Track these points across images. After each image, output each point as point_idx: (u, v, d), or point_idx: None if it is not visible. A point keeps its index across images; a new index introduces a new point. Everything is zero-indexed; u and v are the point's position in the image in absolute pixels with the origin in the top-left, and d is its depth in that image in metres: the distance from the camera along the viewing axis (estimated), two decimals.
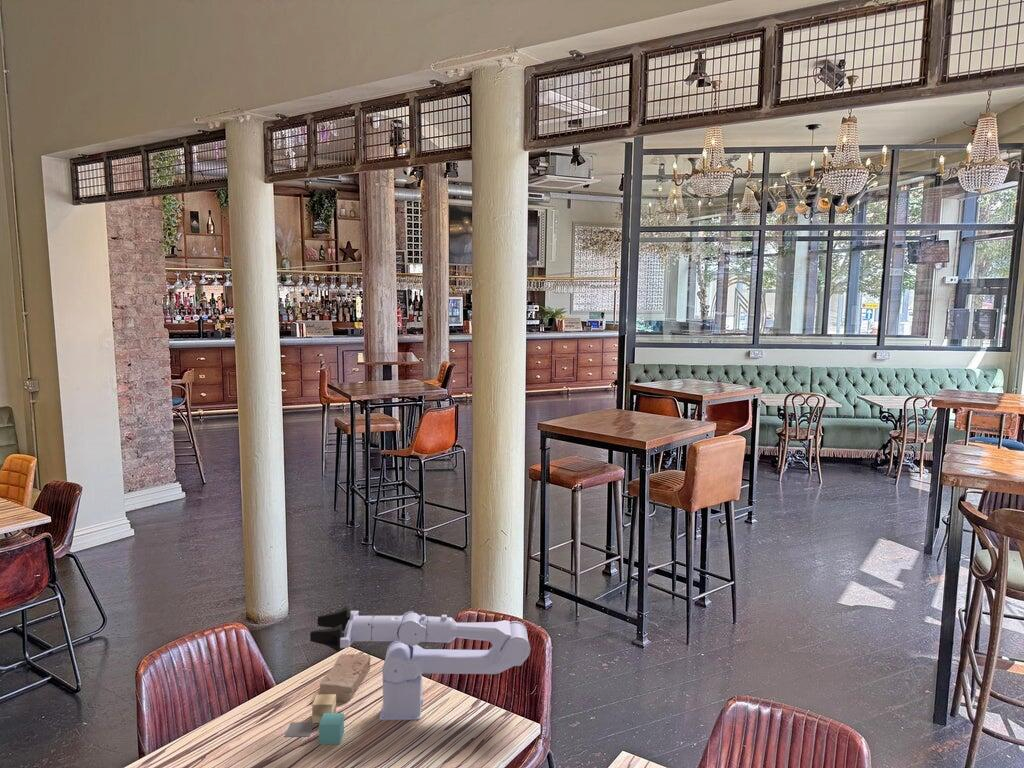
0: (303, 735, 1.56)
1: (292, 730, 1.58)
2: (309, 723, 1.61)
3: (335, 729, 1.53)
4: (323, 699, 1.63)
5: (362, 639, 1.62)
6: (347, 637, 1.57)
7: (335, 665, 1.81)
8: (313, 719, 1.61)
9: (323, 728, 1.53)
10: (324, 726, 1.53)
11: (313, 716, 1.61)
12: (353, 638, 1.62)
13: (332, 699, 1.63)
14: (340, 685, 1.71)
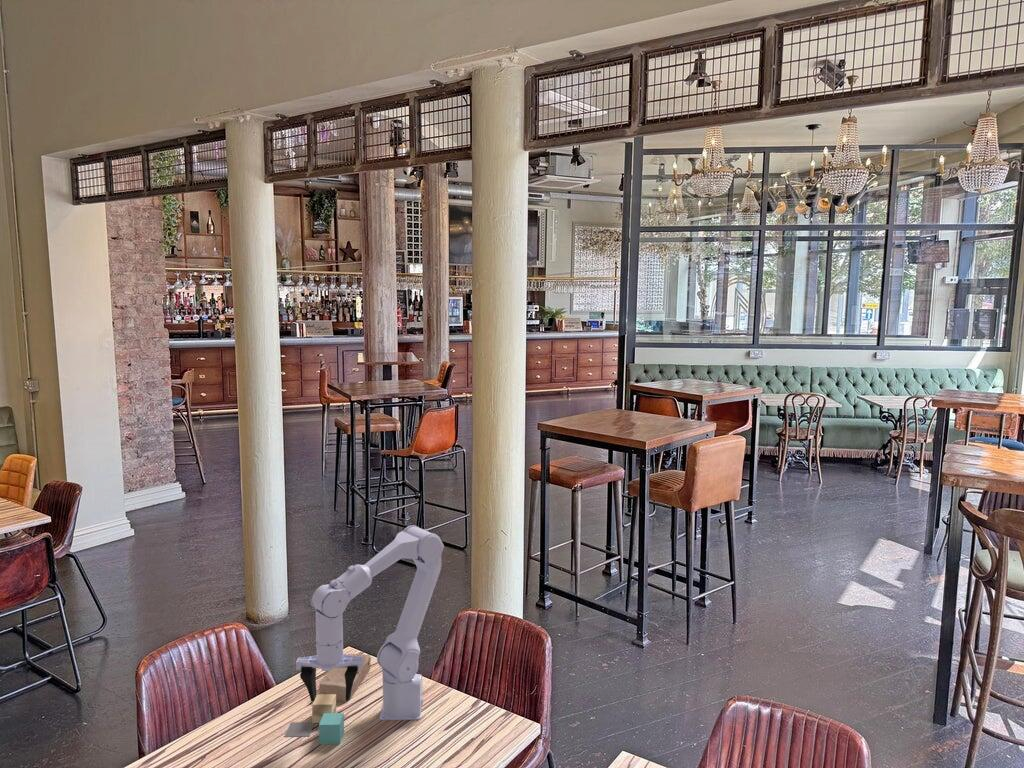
0: (303, 735, 1.56)
1: (292, 730, 1.58)
2: (309, 723, 1.61)
3: (335, 729, 1.53)
4: (323, 699, 1.63)
5: None
6: (358, 662, 1.53)
7: None
8: (313, 719, 1.61)
9: (323, 728, 1.53)
10: (324, 726, 1.53)
11: (313, 716, 1.61)
12: None
13: (332, 699, 1.63)
14: (339, 685, 1.71)
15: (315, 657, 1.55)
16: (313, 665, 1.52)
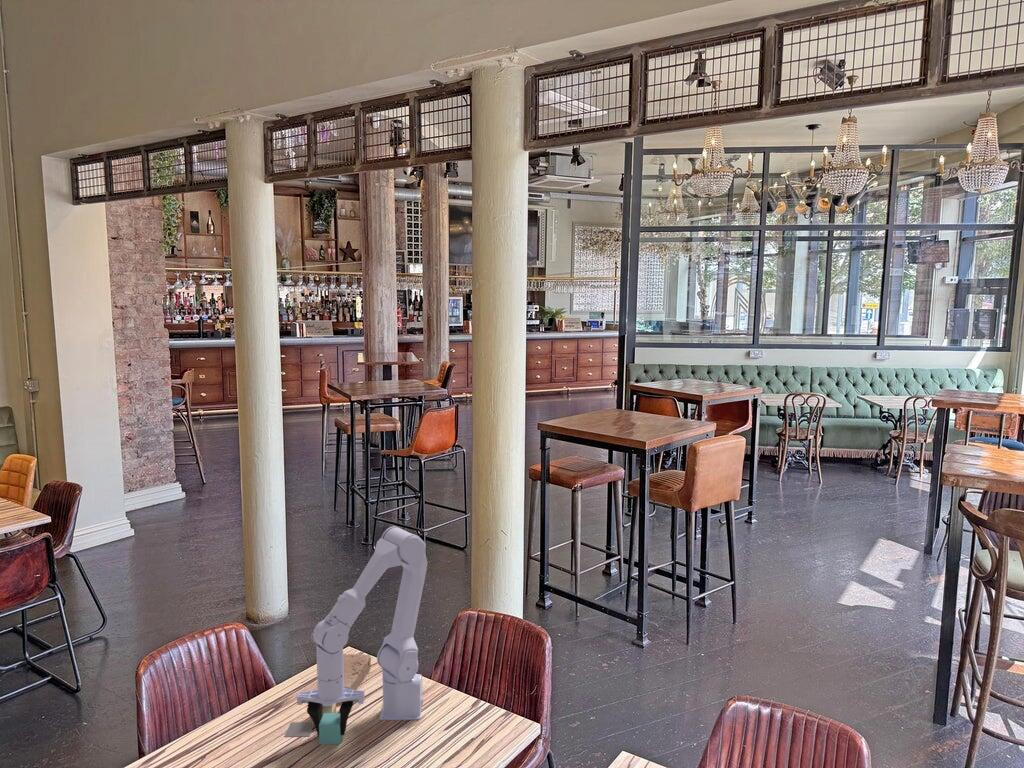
0: (303, 735, 1.56)
1: (292, 730, 1.58)
2: (309, 723, 1.61)
3: (335, 729, 1.53)
4: None
5: None
6: (359, 697, 1.54)
7: None
8: None
9: (323, 728, 1.53)
10: (324, 726, 1.53)
11: None
12: None
13: None
14: None
15: (316, 691, 1.56)
16: (314, 700, 1.52)
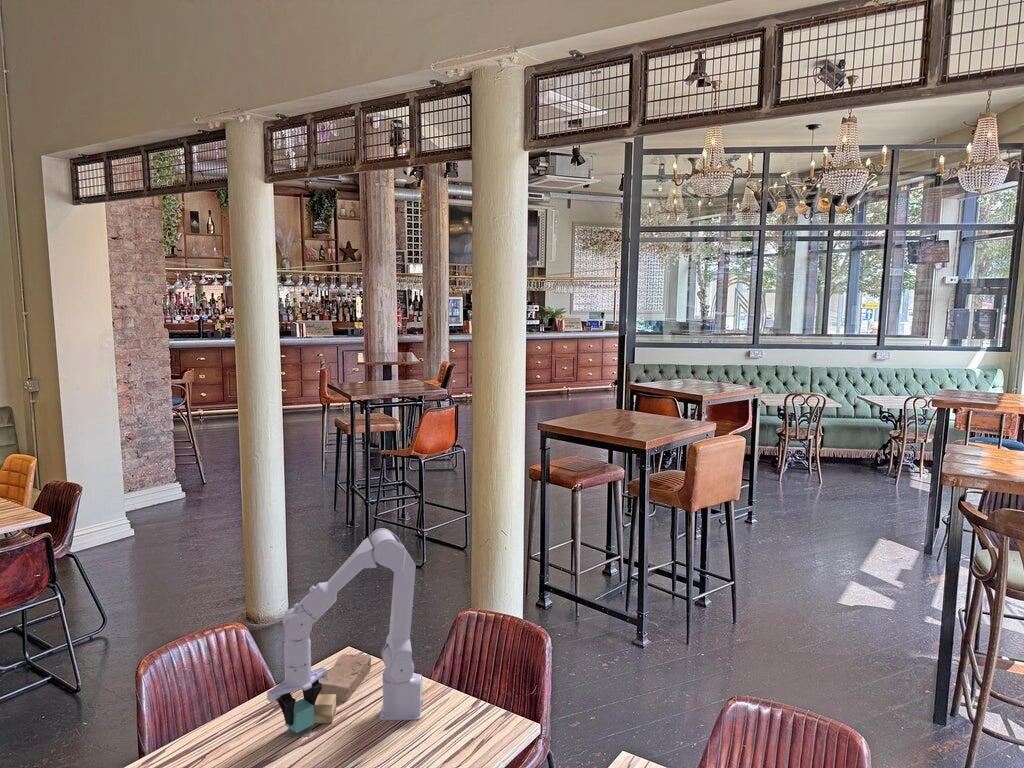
0: (303, 735, 1.56)
1: (292, 730, 1.58)
2: None
3: (310, 711, 1.58)
4: (323, 699, 1.63)
5: None
6: (325, 672, 1.62)
7: (334, 665, 1.81)
8: None
9: (300, 715, 1.56)
10: (300, 713, 1.56)
11: None
12: None
13: (332, 699, 1.63)
14: (337, 685, 1.71)
15: (280, 685, 1.56)
16: (291, 690, 1.54)
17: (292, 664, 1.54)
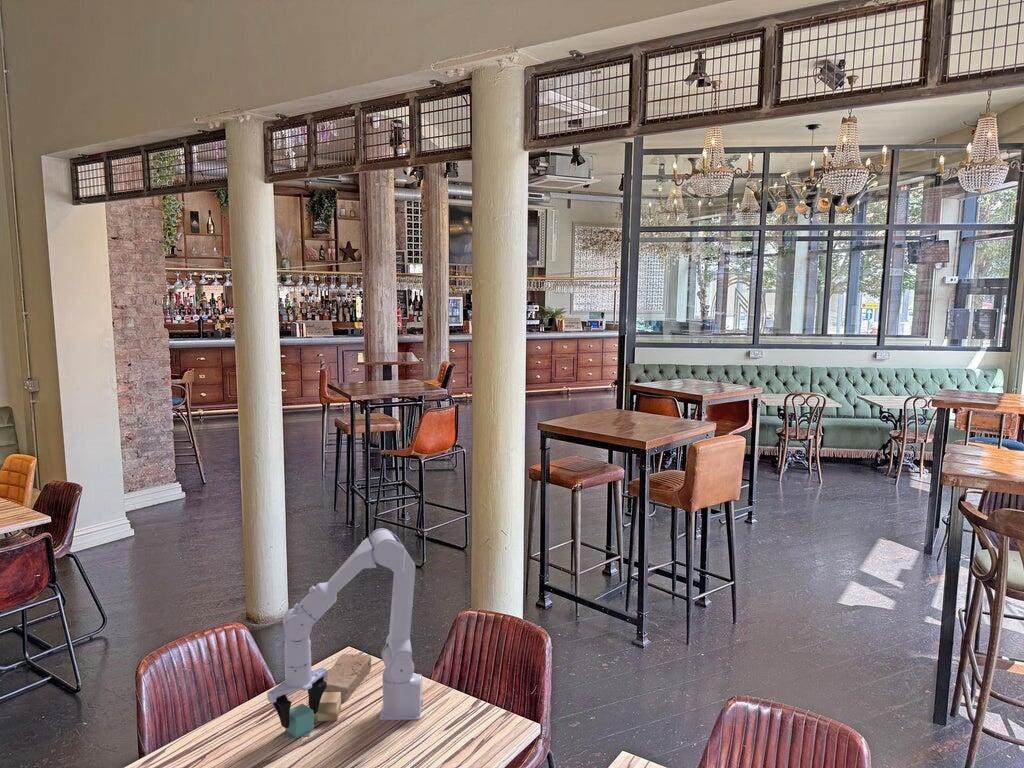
0: (303, 735, 1.56)
1: None
2: None
3: (310, 716, 1.58)
4: (328, 697, 1.64)
5: None
6: (325, 672, 1.62)
7: (334, 665, 1.81)
8: (318, 717, 1.62)
9: (300, 720, 1.56)
10: (300, 718, 1.56)
11: (318, 714, 1.62)
12: None
13: (337, 697, 1.64)
14: (336, 685, 1.71)
15: (280, 686, 1.56)
16: (291, 690, 1.54)
17: (292, 664, 1.54)
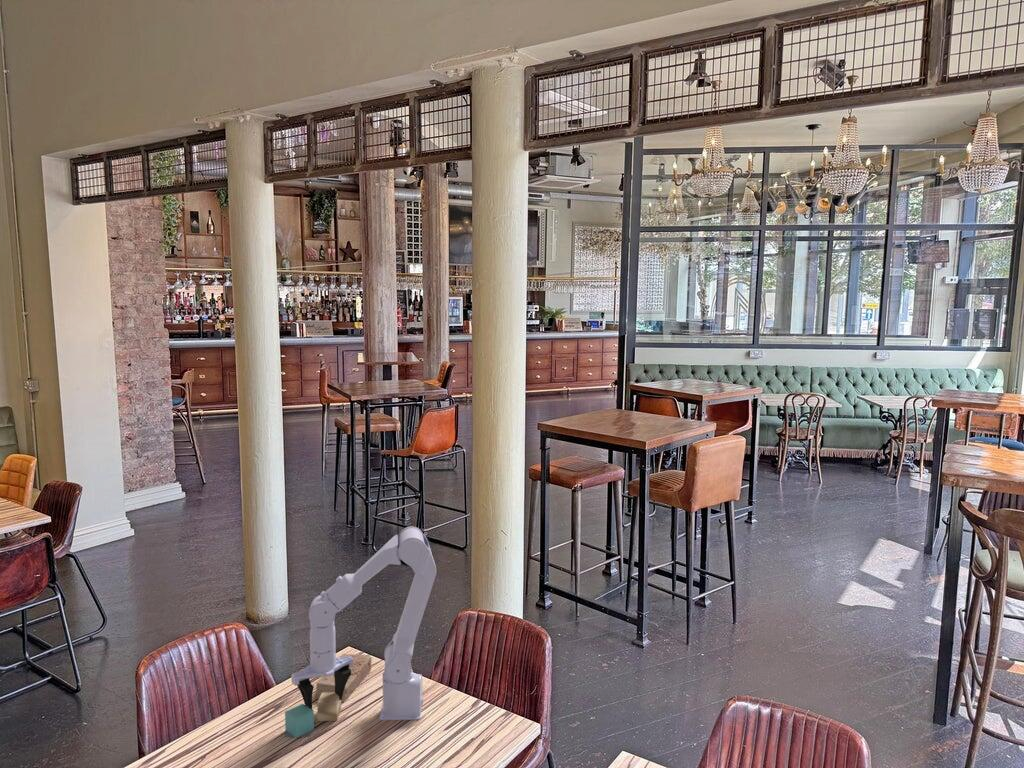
0: (303, 735, 1.56)
1: None
2: None
3: (310, 716, 1.58)
4: (328, 697, 1.64)
5: None
6: (350, 661, 1.66)
7: None
8: (318, 717, 1.62)
9: (300, 720, 1.56)
10: (300, 718, 1.56)
11: (318, 714, 1.62)
12: None
13: (337, 697, 1.64)
14: None
15: (305, 669, 1.61)
16: (314, 675, 1.59)
17: (316, 650, 1.59)
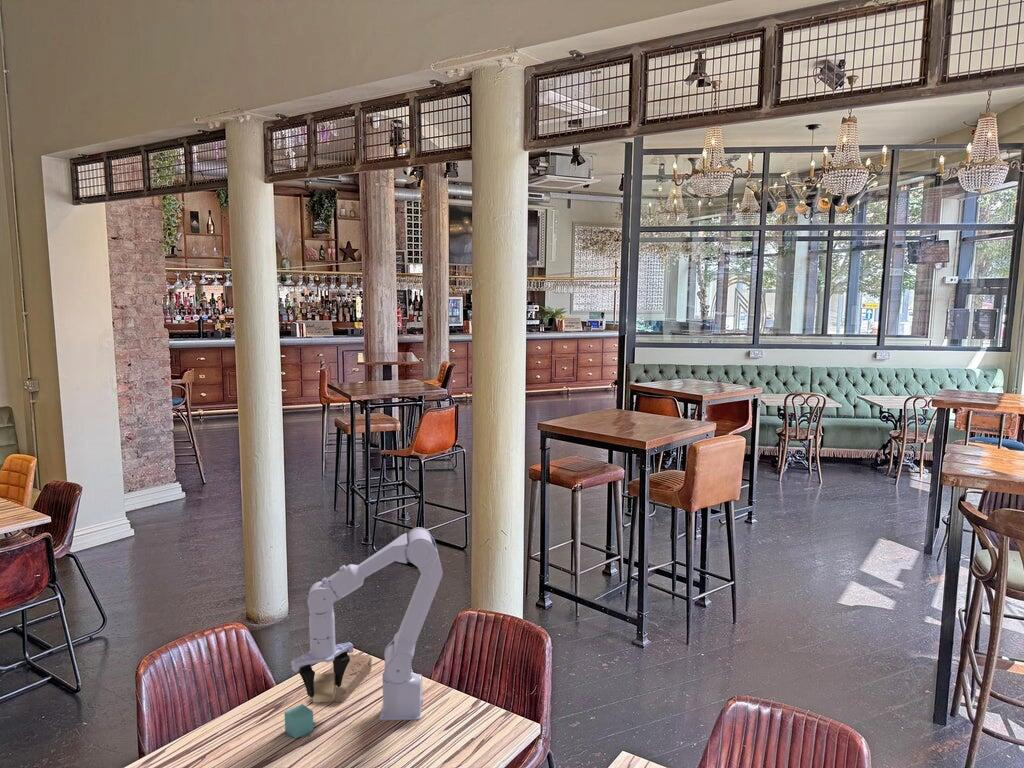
0: (303, 735, 1.56)
1: None
2: None
3: (309, 717, 1.57)
4: (323, 678, 1.62)
5: None
6: (350, 647, 1.65)
7: None
8: (313, 698, 1.60)
9: (299, 721, 1.55)
10: (299, 719, 1.55)
11: (314, 695, 1.60)
12: None
13: (332, 677, 1.63)
14: None
15: (305, 656, 1.61)
16: (314, 661, 1.58)
17: (315, 636, 1.59)
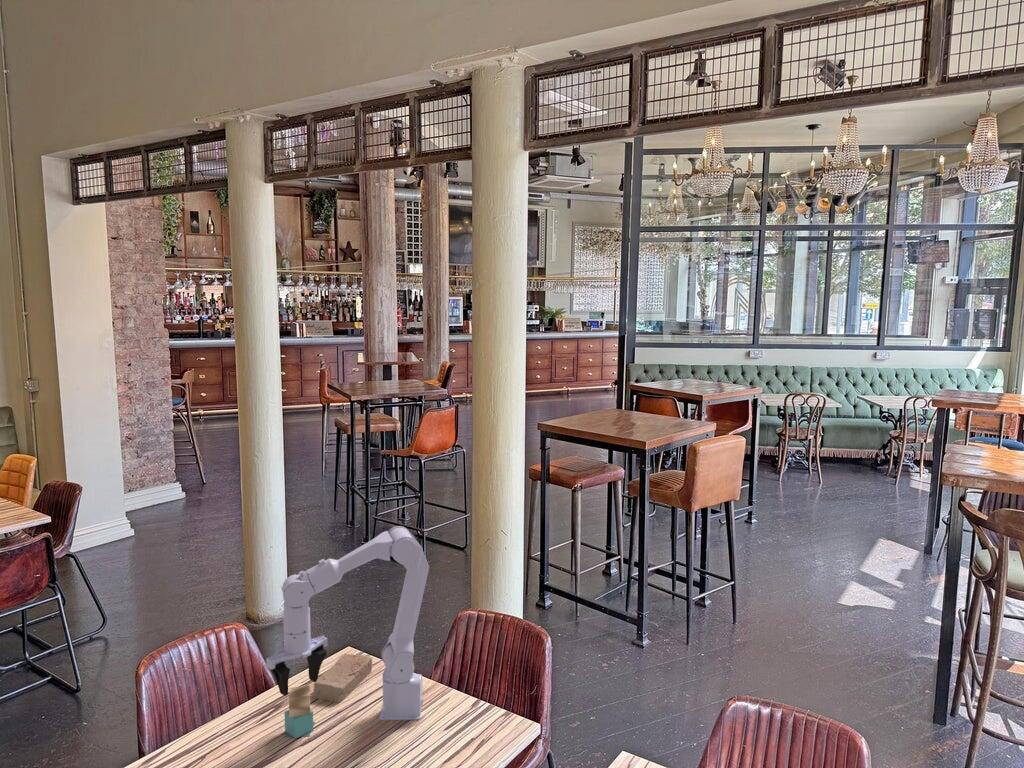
0: (303, 735, 1.56)
1: None
2: None
3: (309, 717, 1.57)
4: (298, 691, 1.58)
5: None
6: (324, 641, 1.61)
7: (335, 664, 1.81)
8: (289, 713, 1.55)
9: (299, 720, 1.55)
10: (299, 719, 1.55)
11: (290, 710, 1.55)
12: None
13: (308, 690, 1.58)
14: (332, 685, 1.71)
15: (279, 653, 1.55)
16: (290, 657, 1.53)
17: (291, 631, 1.54)
